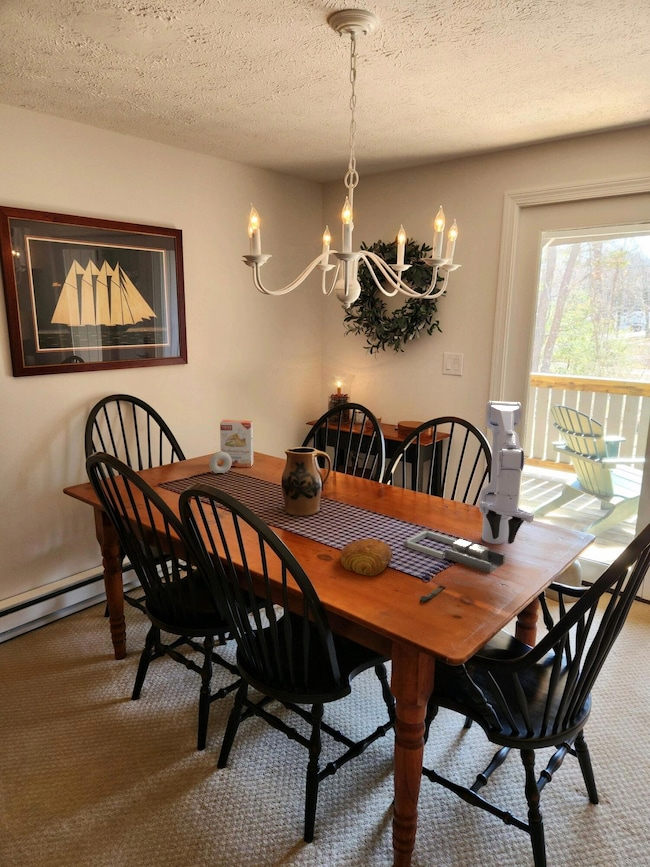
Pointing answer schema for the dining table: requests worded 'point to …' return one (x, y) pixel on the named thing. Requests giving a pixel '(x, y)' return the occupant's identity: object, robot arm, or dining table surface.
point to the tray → (412, 544)
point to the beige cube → (461, 546)
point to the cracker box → (237, 441)
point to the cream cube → (478, 552)
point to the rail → (477, 560)
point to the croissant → (366, 556)
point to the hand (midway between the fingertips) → (503, 540)
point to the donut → (218, 456)
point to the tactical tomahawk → (432, 593)
